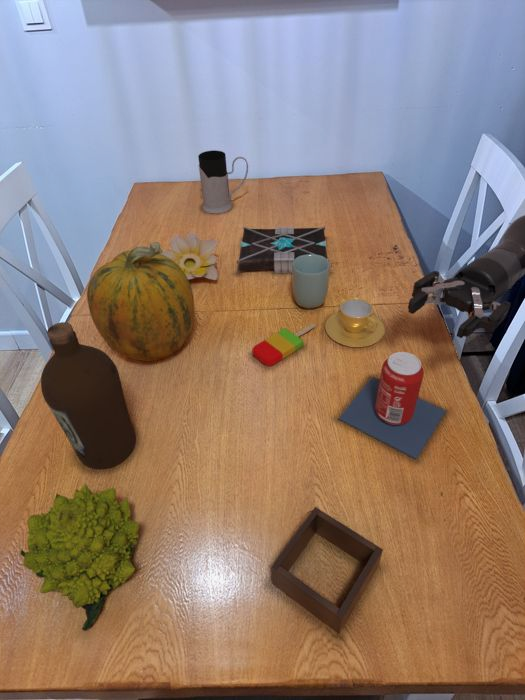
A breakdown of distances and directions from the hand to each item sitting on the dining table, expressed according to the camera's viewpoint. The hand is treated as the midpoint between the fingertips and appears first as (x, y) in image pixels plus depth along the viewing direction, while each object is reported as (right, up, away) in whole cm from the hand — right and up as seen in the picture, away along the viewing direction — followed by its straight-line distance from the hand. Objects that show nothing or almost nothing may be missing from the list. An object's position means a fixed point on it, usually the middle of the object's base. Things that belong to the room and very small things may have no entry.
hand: (434, 320), depth 75 cm
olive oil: (-52, -20, +6) cm, 56 cm away
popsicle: (-21, -4, +23) cm, 31 cm away
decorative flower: (-44, +13, +42) cm, 62 cm away
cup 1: (-16, +6, +33) cm, 37 cm away
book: (-21, +19, +48) cm, 55 cm away
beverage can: (-4, -16, +8) cm, 18 cm away
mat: (-4, -16, +8) cm, 18 cm away
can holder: (-18, -34, -11) cm, 40 cm away
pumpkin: (-49, -4, +24) cm, 54 cm away
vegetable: (-49, -33, -9) cm, 60 cm away
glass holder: (-37, +38, +70) cm, 87 cm away
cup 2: (-8, 0, +25) cm, 26 cm away
